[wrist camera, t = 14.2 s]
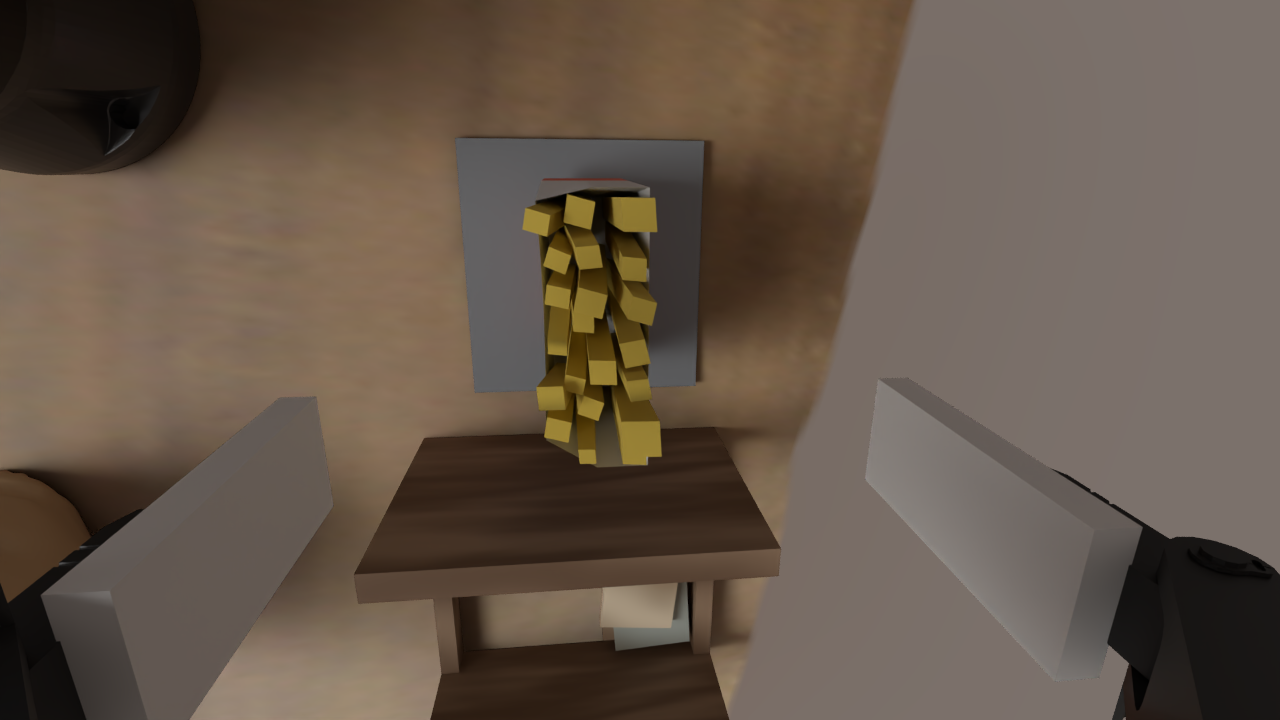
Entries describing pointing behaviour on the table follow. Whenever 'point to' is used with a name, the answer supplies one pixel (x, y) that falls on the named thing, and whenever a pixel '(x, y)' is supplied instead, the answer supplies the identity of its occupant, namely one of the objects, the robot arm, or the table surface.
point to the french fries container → (596, 318)
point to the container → (34, 531)
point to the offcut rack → (573, 570)
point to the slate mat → (510, 257)
